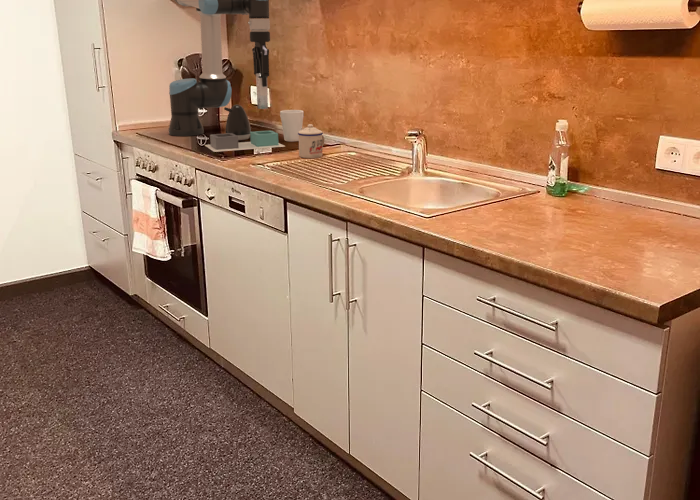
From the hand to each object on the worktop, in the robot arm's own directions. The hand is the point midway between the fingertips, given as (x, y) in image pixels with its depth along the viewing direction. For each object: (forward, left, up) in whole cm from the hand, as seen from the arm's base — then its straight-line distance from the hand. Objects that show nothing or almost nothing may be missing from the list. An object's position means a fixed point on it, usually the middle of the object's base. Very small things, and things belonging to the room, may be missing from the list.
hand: (262, 94), depth 266 cm
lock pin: (0, 0, -5) cm, 5 cm away
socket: (0, 0, -19) cm, 19 cm away
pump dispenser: (-18, -5, -21) cm, 28 cm away
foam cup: (-5, +14, -21) cm, 25 cm away
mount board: (0, -8, -21) cm, 22 cm away
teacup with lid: (+23, +12, -21) cm, 33 cm away
